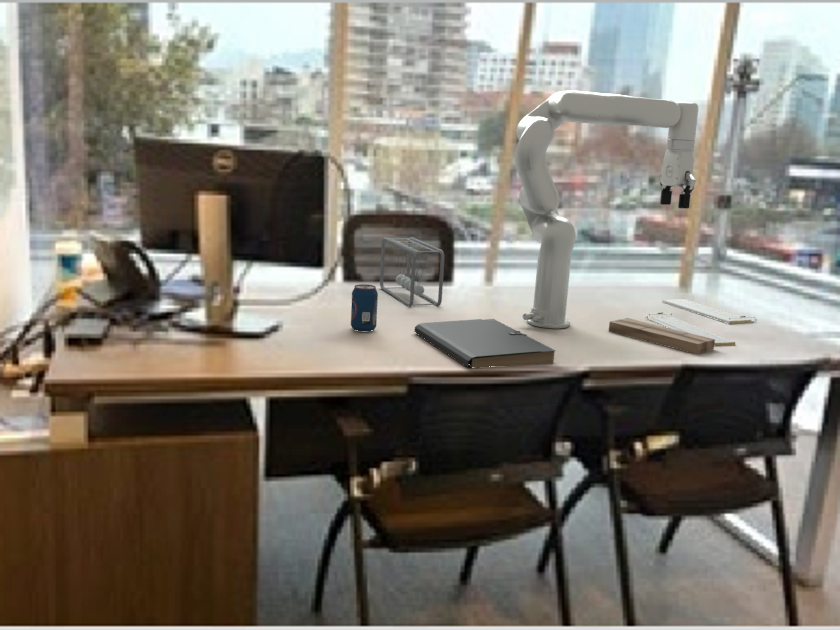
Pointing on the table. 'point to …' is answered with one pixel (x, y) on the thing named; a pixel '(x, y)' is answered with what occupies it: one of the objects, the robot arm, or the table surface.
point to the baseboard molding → (707, 311)
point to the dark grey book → (485, 343)
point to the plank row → (662, 335)
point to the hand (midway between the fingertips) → (674, 206)
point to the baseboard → (689, 328)
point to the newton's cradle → (405, 280)
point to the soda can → (364, 307)
